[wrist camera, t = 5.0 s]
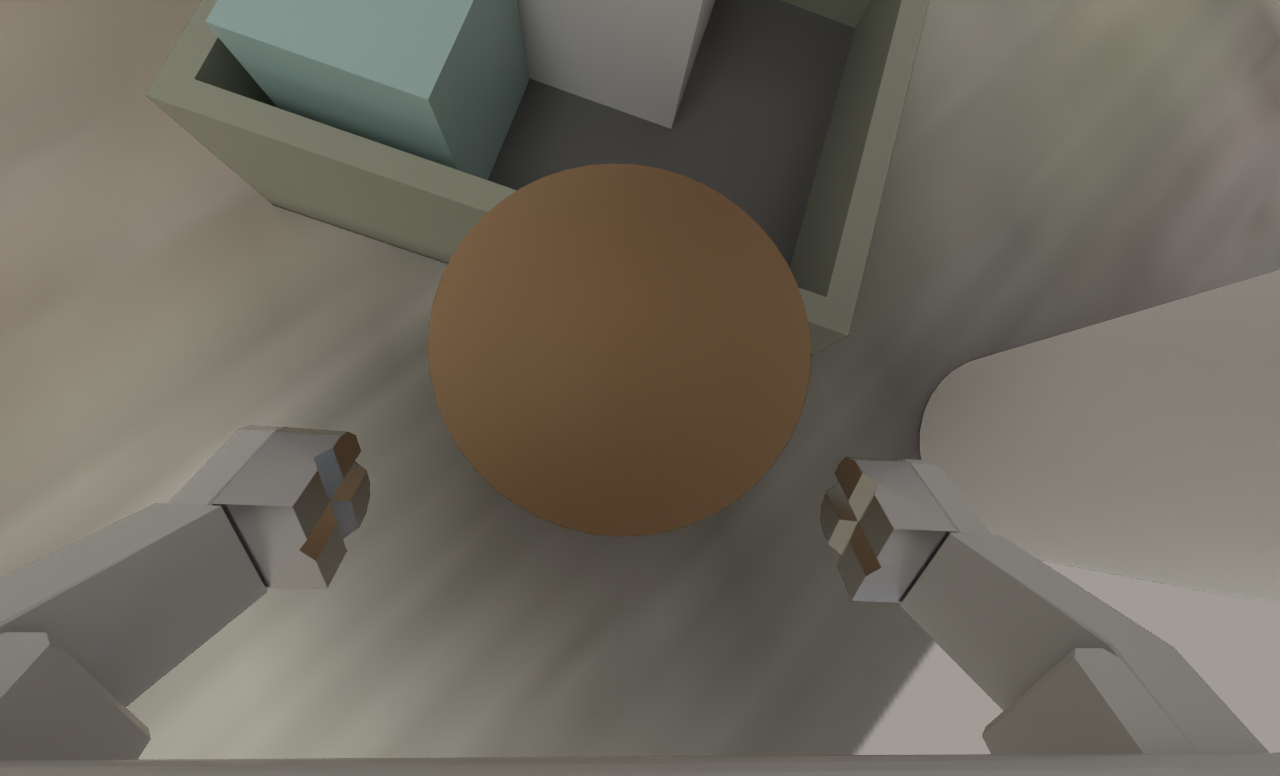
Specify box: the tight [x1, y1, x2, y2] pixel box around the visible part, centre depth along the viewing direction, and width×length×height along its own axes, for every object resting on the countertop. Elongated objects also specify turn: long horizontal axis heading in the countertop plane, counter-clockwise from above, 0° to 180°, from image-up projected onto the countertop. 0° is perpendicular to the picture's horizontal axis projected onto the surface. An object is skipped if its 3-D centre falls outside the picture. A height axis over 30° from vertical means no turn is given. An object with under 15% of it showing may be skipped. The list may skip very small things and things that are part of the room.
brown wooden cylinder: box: [428, 163, 811, 536], centre depth 10 cm, size 3×3×13 cm
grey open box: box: [145, 0, 929, 355], centre depth 15 cm, size 18×15×7 cm
